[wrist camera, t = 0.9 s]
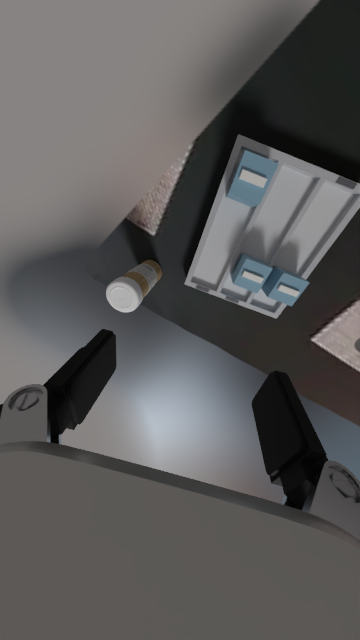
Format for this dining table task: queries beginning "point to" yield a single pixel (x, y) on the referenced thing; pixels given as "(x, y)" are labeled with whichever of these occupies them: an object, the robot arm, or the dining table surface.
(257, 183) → the blue and white block
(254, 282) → the blue slider knob
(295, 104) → the dining table surface
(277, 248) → the switch box
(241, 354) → the dining table surface
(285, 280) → the blue plastic block
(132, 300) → the sprinkles bottle
